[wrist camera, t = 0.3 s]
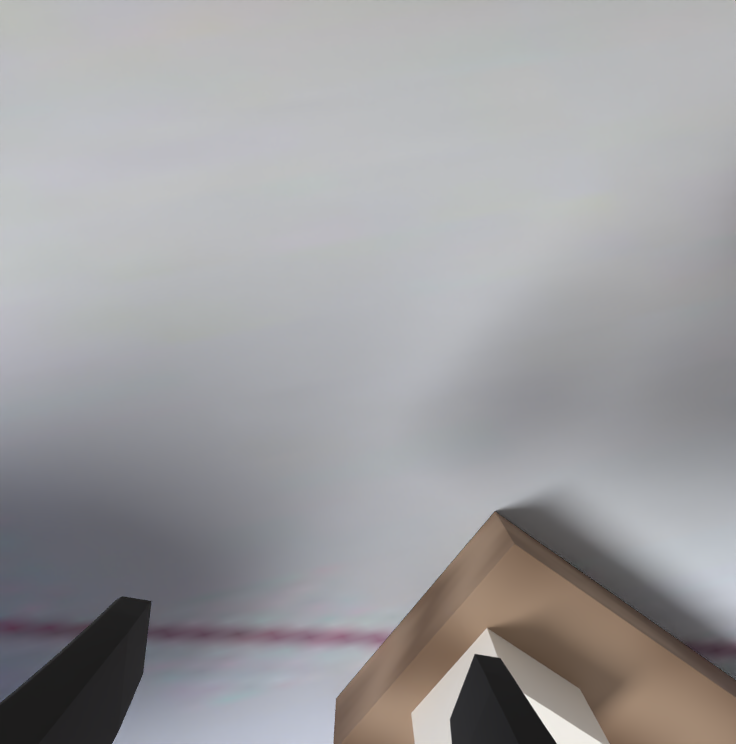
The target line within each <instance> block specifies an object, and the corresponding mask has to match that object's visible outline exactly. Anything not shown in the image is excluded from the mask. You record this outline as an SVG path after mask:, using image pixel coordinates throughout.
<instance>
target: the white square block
mask: <svg viewBox="0 0 736 744" xmlns="http://www.w3.org/2000/svg"><path fill="white" fill-rule="evenodd" d="M474 654H479V655H485V656H491V657H498V658H501V660H502V661H503V663H504V664H505V666H506V667H507V669H508V670H509V672H510V673H511V675H512V676H513V678H514V679H515V681H516V682H517V684H518V686H519V687H520V689H521V690H522V692H523V693H524V695H525V696H526V698H527V699H528V701H529V702H530V704H531V706H532V707H533V709H534V710H535V712H536V713H537V715H538V716H539V718H540V719H541V721H542V722H543V724H544V725H545V727H546V728H547V730H548V731H549V733H550V734H551V736H552V737H553V739H554V740H555V742H556V743H557V744H610V743H609V741H608V740H607V738H606V736H605V734H604V732H603V730H602V729H601V727H600V725H599V723H598V721H597V719H596V718H595V716H594V714H593V712H592V710H591V708H590V707H589V705H588V703H587V701H586V699H585V697H584V696H583V694H582V692H581V690H580V689H579V688H578V687H576V686H575V685H573V684H572V683H570V682H569V681H567V680H565V679H564V678H562V677H561V676H559V675H558V674H556V673H555V672H553V671H552V670H550V669H549V668H547V667H546V666H544V665H543V664H541V663H540V662H538V661H537V660H535V659H533V658H532V657H530V656H529V655H527V654H526V653H524V652H523V651H521V650H520V649H518V648H517V647H515V646H514V645H512V644H511V643H509V642H508V641H506V640H505V639H503V638H502V637H500V636H498V635H497V634H495V633H494V632H492V631H491V630H489V629H488V628H486V630H485V631H484V632H483V633H482V634H481V635H480V636H479V637H478V639H477V640H476V641H475V642H474V643H473V644H472V645H471V646H470V648H469V649H468V650H467V651H466V652H465V653H464V654H463V655H462V657H461V658H460V659H459V660H458V661H457V662H456V663H455V664H454V666H453V667H452V668H451V669H450V670H449V671H448V672H447V673H446V675H445V676H444V677H443V678H442V679H441V680H440V681H439V682H438V684H437V685H436V686H435V687H434V688H433V689H432V690H431V691H430V693H429V694H428V695H427V696H426V697H425V698H424V699H423V700H422V702H421V703H420V704H419V705H418V706H417V707H416V708H415V709H414V711H413V712H412V713H411V716H412V724H413V732H414V741H415V744H452V739H451V729H450V717H451V715H452V712H453V709H454V707H455V704H456V702H457V699H458V696H459V694H460V691H461V688H462V686H463V683H464V681H465V678H466V675H467V673H468V670H469V668H470V665H471V662H472V660H473V657H474Z"/></svg>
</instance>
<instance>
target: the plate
mask: <svg viewBox="0 0 736 744" xmlns="http://www.w3.org/2000/svg"><path fill="white" fill-rule="evenodd" d="M486 628H488V629H489V630H491V631H492V632H494V633H495V634H497V635H498V636H500V637H502V638H503V639H505V640H506V641H508V642H509V643H511V644H512V645H514V646H515V647H517V648H518V649H520V650H521V651H523V652H524V653H526V654H527V655H529V656H530V657H532V658H533V659H535V660H537V661H538V662H540V663H541V664H543V665H544V666H546V667H547V668H549V669H550V670H552V671H553V672H555V673H556V674H558V675H559V676H561V677H562V678H564V679H565V680H567V681H569V682H570V683H572V684H573V685H575V686H576V687H578V688H579V689H580V690H581V692H582V694H583V696H584V697H585V699H586V701H587V703H588V705H589V707H590V708H591V710H592V712H593V714H594V716H595V718H596V719H597V721H598V723H599V725H600V727H601V729H602V730H603V732H604V734H605V736H606V738H607V740H608V741H609V743H610V744H736V680H735V679H733V678H732V677H730V676H729V675H727V674H726V673H725V672H723V671H722V670H720V669H719V668H717V667H716V666H715V665H713V664H712V663H710V662H709V661H707V660H706V659H705V658H703V657H702V656H700V655H699V654H697V653H696V652H695V651H693V650H692V649H690V648H689V647H688V646H686V645H685V644H683V643H682V642H680V641H679V640H678V639H676V638H675V637H673V636H672V635H670V634H669V633H668V632H666V631H665V630H663V629H662V628H660V627H659V626H658V625H656V624H655V623H653V622H652V621H650V620H649V619H648V618H646V617H645V616H643V615H642V614H641V613H639V612H638V611H636V610H635V609H633V608H632V607H631V606H629V605H628V604H626V603H625V602H623V601H622V600H621V599H619V598H618V597H616V596H615V595H613V594H612V593H611V592H609V591H608V590H606V589H605V588H603V587H602V586H601V585H599V584H598V583H596V582H595V581H593V580H592V579H591V578H589V577H588V576H586V575H585V574H584V573H582V572H581V571H579V570H578V569H576V568H575V567H574V566H572V565H571V564H569V563H568V562H566V561H565V560H564V559H562V558H561V557H559V556H558V555H556V554H555V553H554V552H552V551H551V550H549V549H548V548H546V547H545V546H544V545H542V544H541V543H539V542H538V541H537V540H535V539H534V538H532V537H531V536H529V535H528V534H527V533H525V532H524V531H522V530H521V529H519V528H518V527H517V526H515V525H514V524H512V523H511V522H509V521H508V520H507V519H505V518H504V517H502V516H501V515H499V514H498V513H497V512H494V513H493V514H492V515H491V517H490V518H489V519H488V520H487V521H486V522H485V524H484V525H483V526H482V527H481V528H480V530H479V531H478V532H477V533H476V534H475V535H474V537H473V538H472V539H471V540H470V541H469V543H468V544H467V545H466V546H465V547H464V548H463V550H462V551H461V552H460V553H459V554H458V555H457V557H456V558H455V559H454V560H453V561H452V563H451V564H450V565H449V566H448V567H447V568H446V570H445V571H444V572H443V573H442V574H441V576H440V577H439V578H438V579H437V580H436V581H435V583H434V584H433V585H432V586H431V587H430V589H429V590H428V591H427V592H426V593H425V594H424V596H423V597H422V598H421V599H420V600H419V601H418V603H417V604H416V605H415V606H414V607H413V609H412V610H411V611H410V612H409V613H408V614H407V616H406V617H405V618H404V619H403V620H402V622H401V623H400V624H399V625H398V626H397V627H396V629H395V630H394V631H393V632H392V633H391V635H390V636H389V637H388V638H387V639H386V640H385V642H384V643H383V644H382V645H381V646H380V647H379V649H378V650H377V651H376V652H375V653H374V655H373V656H372V657H371V658H370V659H369V660H368V662H367V663H366V664H365V665H364V666H363V668H362V669H361V670H360V671H359V672H358V673H357V675H356V676H355V677H354V678H353V679H352V681H351V682H350V683H349V684H348V685H347V686H346V688H345V689H344V690H343V691H342V692H341V693H340V695H339V696H338V697H337V698H336V710H335V727H334V744H415V741H414V732H413V724H412V716H411V713H412V712H413V711H414V709H415V708H416V707H417V706H418V705H419V704H420V703H421V702H422V700H423V699H424V698H425V697H426V696H427V695H428V694H429V693H430V691H431V690H432V689H433V688H434V687H435V686H436V685H437V684H438V682H439V681H440V680H441V679H442V678H443V677H444V676H445V675H446V673H447V672H448V671H449V670H450V669H451V668H452V667H453V666H454V664H455V663H456V662H457V661H458V660H459V659H460V658H461V657H462V655H463V654H464V653H465V652H466V651H467V650H468V649H469V648H470V646H471V645H472V644H473V643H474V642H475V641H476V640H477V639H478V637H479V636H480V635H481V634H482V633H483V632H484V631H485V630H486Z"/></svg>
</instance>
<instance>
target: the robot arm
mask: <svg viewBox="0 0 736 744" xmlns="http://www.w3.org/2000/svg"><path fill="white" fill-rule="evenodd" d="M150 609H151V601H147V600H141V599H135V598H129V597H123V596H122V597H120V598H119V599H117V600H116V601H115V602H114V603H113V604H112V605H110V606H109V607H108V608H107V609H106V610H105V611H104V612H103V613H102V614H101V615H100V616H99V617H98V618H97V619H96V620H95V621H94V622H93V623H91V624H90V625H89V626H88V627H87V628H86V629H85V630H84V631H83V632H82V633H81V634H80V635H78V636H77V637H76V638H75V639H74V640H73V641H72V642H71V643H70V644H68V645H67V646H66V647H65V648H64V649H63V650H62V651H61V652H60V653H58V654H57V655H56V656H55V657H54V658H53V659H51V660H50V661H49V662H48V663H47V664H46V665H45V666H43V667H42V668H41V669H40V670H39V671H38V672H36V673H35V674H34V675H33V676H32V677H31V678H29V679H28V680H27V681H26V682H25V683H24V684H22V685H21V686H20V687H19V688H18V689H17V690H15V691H14V692H13V693H12V694H11V695H9V696H8V697H7V698H6V699H4V700H3V701H2V702H1V703H0V744H112V743H113V741H114V739H115V737H116V735H117V733H118V731H119V729H120V727H121V724H122V722H123V720H124V717H125V715H126V713H127V710H128V708H129V706H130V703H131V701H132V699H133V696H134V694H135V692H136V689H137V687H138V684H139V682H140V680H141V677H142V675H143V669H144V660H145V652H146V643H147V634H148V626H149V617H150ZM450 729H451V739H452V744H557V743H556V742H555V740H554V739H553V737H552V736H551V734H550V733H549V731H548V730H547V728H546V727H545V725H544V724H543V722H542V721H541V719H540V718H539V716H538V715H537V713H536V712H535V710H534V709H533V707H532V706H531V704H530V702H529V701H528V699H527V698H526V696H525V695H524V693H523V692H522V690H521V689H520V687H519V686H518V684H517V682H516V681H515V679H514V678H513V676H512V675H511V673H510V672H509V670H508V669H507V667H506V666H505V664H504V663H503V661H502V660H501V658H498V657H491V656H485V655H479V654H474V657H473V660H472V662H471V665H470V668H469V670H468V673H467V675H466V678H465V681H464V683H463V686H462V688H461V691H460V694H459V696H458V699H457V702H456V704H455V707H454V709H453V712H452V715H451V717H450Z"/></svg>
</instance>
